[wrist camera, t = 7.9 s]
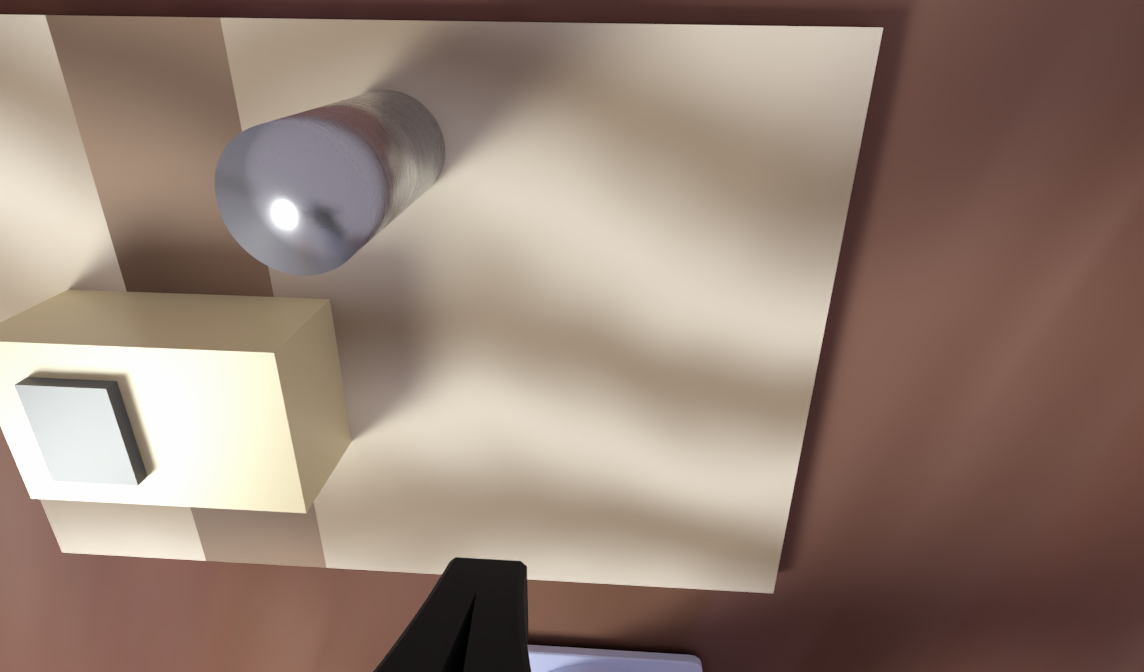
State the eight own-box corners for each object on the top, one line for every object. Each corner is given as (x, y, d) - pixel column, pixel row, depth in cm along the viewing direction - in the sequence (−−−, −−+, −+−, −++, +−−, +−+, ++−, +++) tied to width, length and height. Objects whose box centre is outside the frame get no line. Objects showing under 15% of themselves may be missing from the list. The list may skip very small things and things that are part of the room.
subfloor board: (768, 576, 24) (773, 593, 23) (78, 537, 25) (62, 552, 25) (871, 27, 16) (883, 27, 16) (-131, 12, 18) (-162, 12, 17)
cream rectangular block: (351, 441, 22) (300, 523, 18) (115, 430, 22) (19, 507, 19) (329, 299, 19) (265, 360, 16) (68, 289, 20) (-51, 347, 16)
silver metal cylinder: (448, 200, 18) (376, 277, 13) (347, 197, 18) (232, 272, 13) (440, 90, 17) (357, 124, 11) (332, 88, 17) (198, 120, 12)
